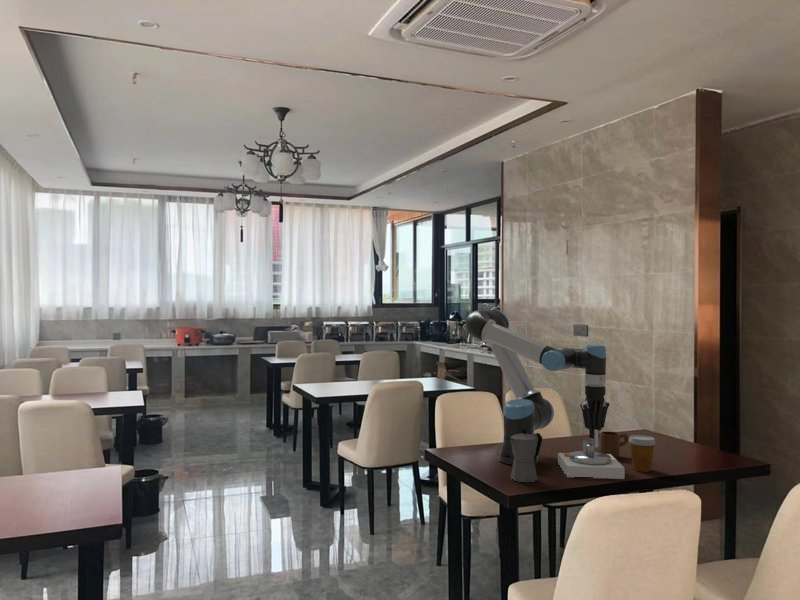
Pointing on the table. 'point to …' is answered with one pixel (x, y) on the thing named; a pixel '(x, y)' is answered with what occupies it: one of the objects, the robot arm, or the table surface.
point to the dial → (589, 455)
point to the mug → (612, 443)
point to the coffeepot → (525, 456)
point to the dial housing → (591, 468)
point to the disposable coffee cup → (642, 452)
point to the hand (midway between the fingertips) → (594, 446)
